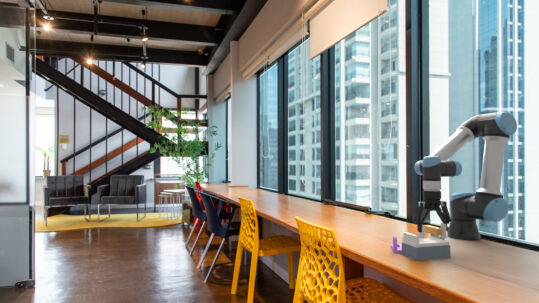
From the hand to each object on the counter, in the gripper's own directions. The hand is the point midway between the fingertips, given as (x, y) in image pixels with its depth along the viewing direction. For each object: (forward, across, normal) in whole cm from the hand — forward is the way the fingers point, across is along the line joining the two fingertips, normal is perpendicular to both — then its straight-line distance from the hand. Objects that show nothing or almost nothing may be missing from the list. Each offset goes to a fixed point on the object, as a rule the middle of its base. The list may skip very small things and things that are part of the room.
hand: (432, 238), depth 159 cm
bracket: (+5, +15, -4) cm, 17 cm away
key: (+4, 0, +1) cm, 4 cm away
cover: (0, +11, +9) cm, 14 cm away
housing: (+5, +8, +5) cm, 11 cm away
